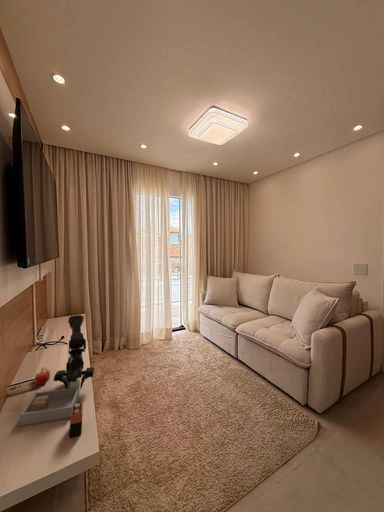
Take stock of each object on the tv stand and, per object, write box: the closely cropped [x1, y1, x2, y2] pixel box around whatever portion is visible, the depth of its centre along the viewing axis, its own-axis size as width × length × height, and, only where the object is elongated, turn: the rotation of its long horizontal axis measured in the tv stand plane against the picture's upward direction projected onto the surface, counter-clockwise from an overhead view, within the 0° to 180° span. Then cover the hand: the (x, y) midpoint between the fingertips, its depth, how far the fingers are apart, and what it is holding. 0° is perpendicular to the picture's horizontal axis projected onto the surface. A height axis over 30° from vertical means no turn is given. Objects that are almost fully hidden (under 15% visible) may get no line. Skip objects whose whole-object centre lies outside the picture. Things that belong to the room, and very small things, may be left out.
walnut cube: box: [32, 396, 49, 412], centre depth 98 cm, size 5×5×5 cm
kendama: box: [34, 366, 51, 386], centre depth 124 cm, size 8×6×18 cm
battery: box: [68, 402, 84, 439], centre depth 88 cm, size 4×7×10 cm, turn 25°
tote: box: [19, 387, 81, 427], centre depth 99 cm, size 16×20×5 cm
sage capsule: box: [69, 378, 81, 388], centre depth 113 cm, size 5×5×7 cm
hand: (74, 389), depth 113 cm, fingers open, 6 cm apart
